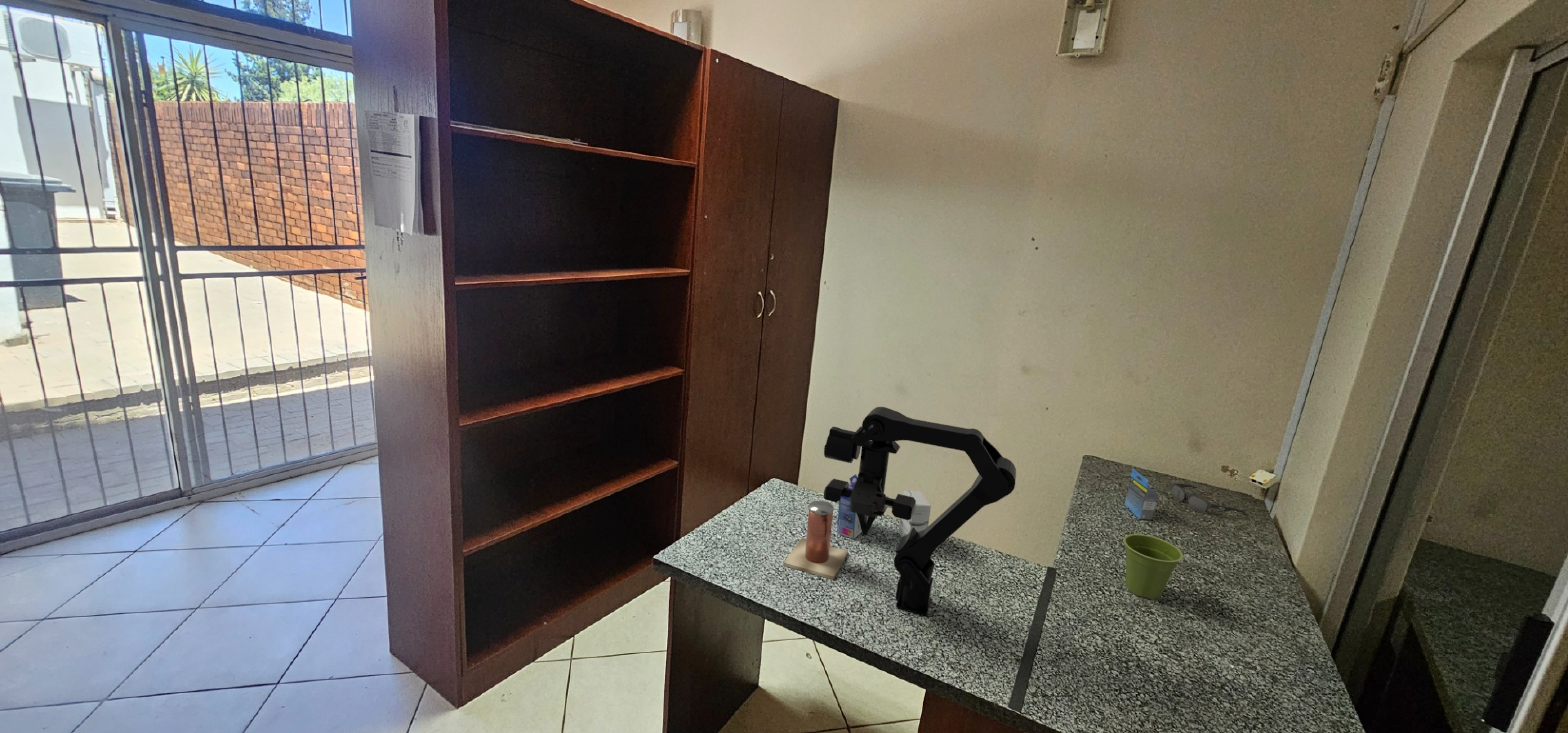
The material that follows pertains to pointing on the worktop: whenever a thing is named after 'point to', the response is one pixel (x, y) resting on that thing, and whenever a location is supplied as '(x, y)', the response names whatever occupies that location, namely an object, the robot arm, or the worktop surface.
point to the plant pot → (1149, 564)
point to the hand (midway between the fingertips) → (865, 534)
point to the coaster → (821, 569)
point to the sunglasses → (1196, 499)
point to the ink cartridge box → (848, 516)
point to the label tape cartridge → (1140, 497)
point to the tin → (819, 531)
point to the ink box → (916, 514)
